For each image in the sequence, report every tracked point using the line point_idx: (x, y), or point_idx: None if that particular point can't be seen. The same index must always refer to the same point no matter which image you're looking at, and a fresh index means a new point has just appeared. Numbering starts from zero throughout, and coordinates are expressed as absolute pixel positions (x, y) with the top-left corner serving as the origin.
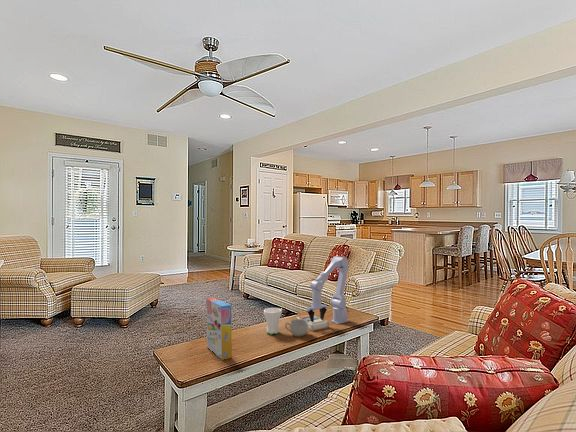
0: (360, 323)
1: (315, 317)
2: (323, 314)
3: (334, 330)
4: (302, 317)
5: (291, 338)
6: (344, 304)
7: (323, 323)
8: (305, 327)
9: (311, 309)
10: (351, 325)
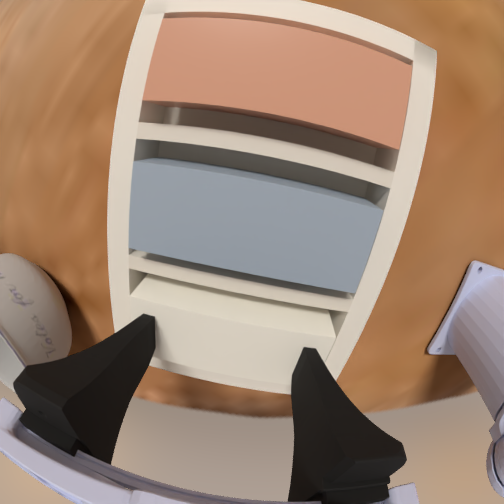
0: (477, 391)
1: (322, 246)
2: (298, 445)
3: (291, 408)
4: (150, 94)
5: None
6: None
7: (258, 387)
8: None
9: (65, 462)
10: (436, 397)
